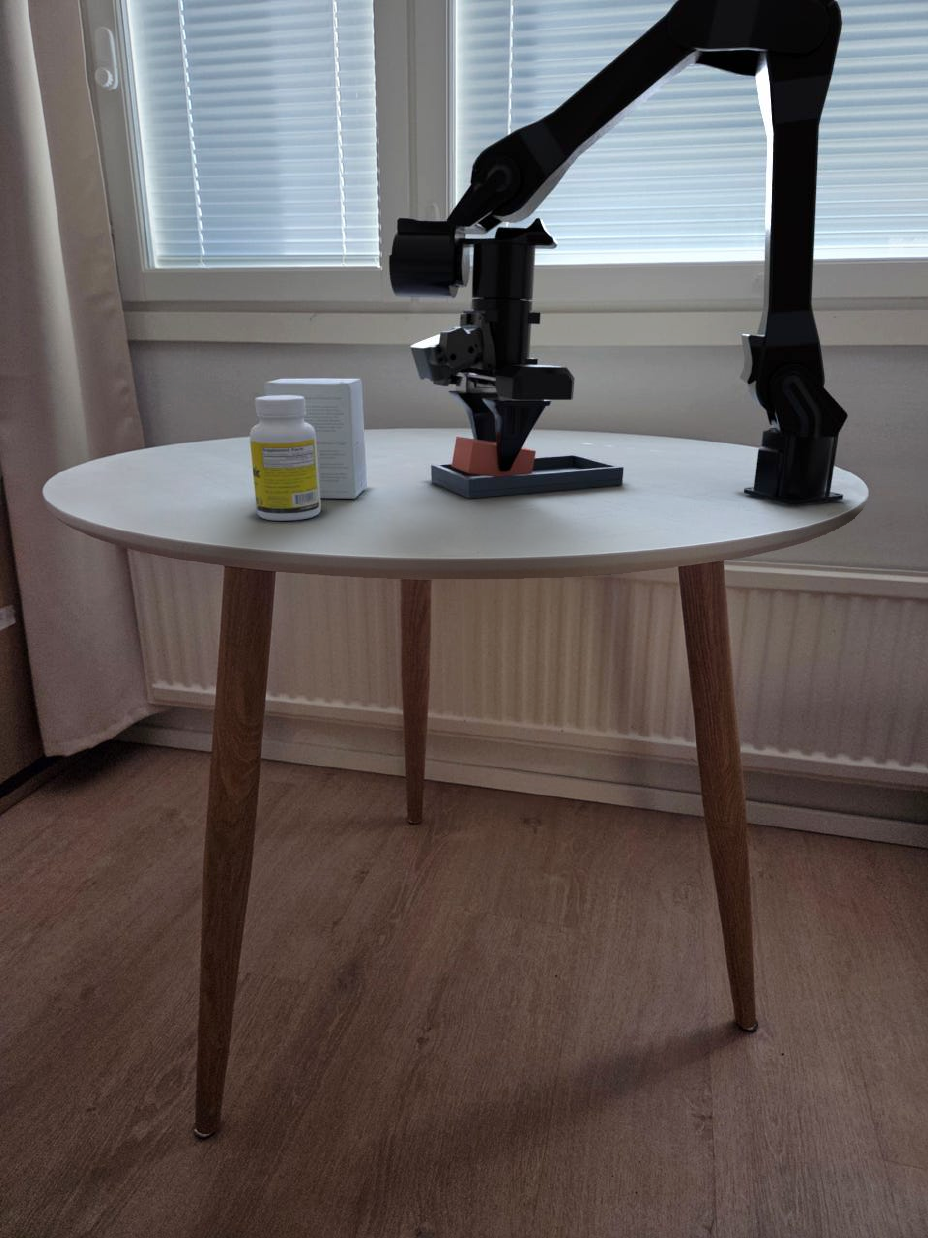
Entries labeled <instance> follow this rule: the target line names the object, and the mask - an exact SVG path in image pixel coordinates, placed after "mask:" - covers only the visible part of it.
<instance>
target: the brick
mask: <svg viewBox="0 0 928 1238" xmlns="http://www.w3.org/2000/svg"><path fill="white" fill-rule="evenodd" d="M536 454H537V451H536V450H533V449H530V448H527V447H524V446H523V447H522V448H521V450H520V452H519V454H518V456H517V458H516V460H515V462H514V464H513V465H512V467H511V469H510V470H509V471H500V470H499V468H498V460H497V447H496V442H489V441H482V440H476V439H474V438H469V437H461V436H456V438H455V442H454V449H453V455H452V461H451V463H452V467H454V468H456V469H459V470H461V471H464V472H466V473H470V474H478V475H486V476H494V477H495V476H507V475H519V474H532V469H533V464H534V459H535V457H536Z"/></svg>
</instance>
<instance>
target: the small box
mask: <svg viewBox="0 0 928 1238" xmlns="http://www.w3.org/2000/svg"><path fill="white" fill-rule="evenodd" d="M263 394H264V396H276V395H295V396H302V397H304V398H305V409H306V411H305V413H306V414H305V415H303V419H304V422H306V423H308V424H310V425H312V426H313V428H314V429H315V433H316V444H317V458H318V473H319V488H320V499H347V500H348V499H351V500H354V499H356V498H357V497H358V496H359V495H360V494H361V493H362V492H363V491H364V490H365V489H366V488H367V487H368V479H367V460H366V441H365V419H364V401H363V383H362V379H361V378H326V377H325V378H319V377H318V378H317V377H316V378H311V377H310V378H278V379H274V380H269V381H266V382H264V383H263Z"/></svg>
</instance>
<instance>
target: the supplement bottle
mask: <svg viewBox="0 0 928 1238" xmlns="http://www.w3.org/2000/svg"><path fill="white" fill-rule="evenodd" d="M254 404H255V405H254V406H255V413H256V416H257V417H258V418H259V423H257V424H255V425H254V426H253V427H252V428H251V429H250V432H249V443H250V451H251V452H250V455H251V465H252V475H253V484H254V485H253V486H254V496H255V505H256V513H257V515H258V517H260V518H261V519H264V520H266V521H267V520H268V521H276V522H278V521H279V522H287V521H288V522H289V521H300V520H307V519H311V518H313V517H317V515H319V514H320V513H321V510H322V509H321V508H322V505H321V498H320V488H319V473H318V458H317V444H316V433H315V429H314V428H313V426H312V425H310V424H308V423H306V422H304V419H303V415H305V414H306V413H305V411H306V409H305V398H304V397H302V396H295V395H276V396H265V395H264V396H257V397H255V399H254Z"/></svg>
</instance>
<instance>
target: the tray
mask: <svg viewBox="0 0 928 1238" xmlns="http://www.w3.org/2000/svg"><path fill="white" fill-rule="evenodd" d="M430 473H431V475H430V476H431V479H430V481H431V482H430V483H433V484H435V485H437V486H439V487H442V488H443V489H446V490H448V491H450V492H452V493H455V494H457V495H460V496H462V497H464V498H467V499H469V500H471V499H481V498H493V497H502V496H503V497H505V496H513V495H525V494H537V493H549V492H558V491H569V490H570V491H571V490H581V489H591V488H592V489H593V488H602V487H613V486H622V485H623V481H624V480H623V479H624V466H621V465H618V464H617V465H616V464H613V463H609V462H606V461H602V460H598V459H594V458H590V457H588V456H584V455H580V454H575V453H574V454H562V455H561V454H559V455H548V456H546V455H545V456H535V459H534V464H533V469H532V474H519V475H507V476H495V477H494V476H486V475H478V474H470V473H466V472H464V471H461V470H459V469H456V468H454V467H452V462H451V463H450V462H449V463H437V464H430Z"/></svg>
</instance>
